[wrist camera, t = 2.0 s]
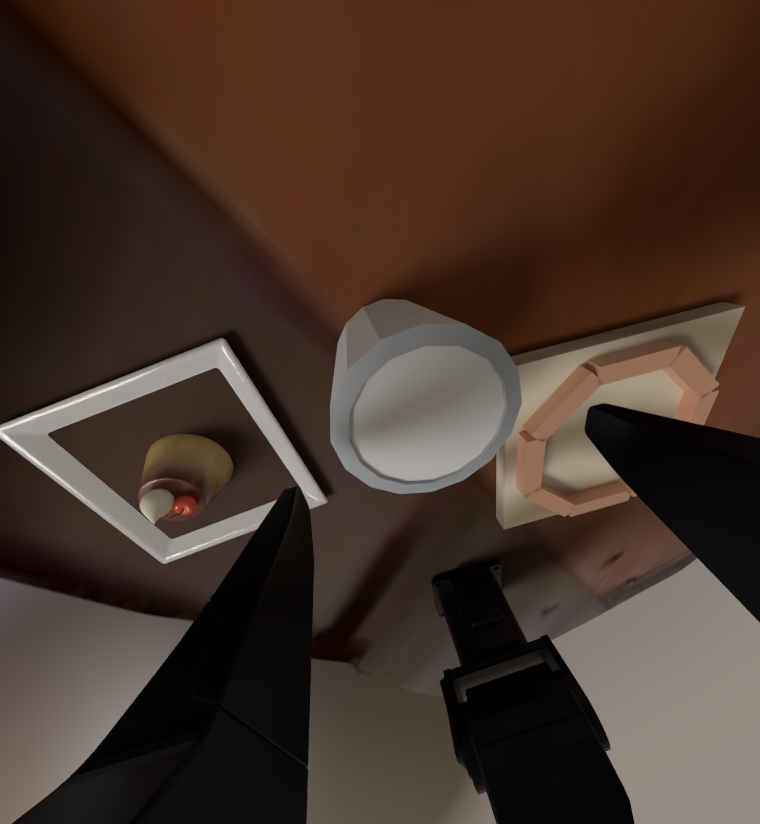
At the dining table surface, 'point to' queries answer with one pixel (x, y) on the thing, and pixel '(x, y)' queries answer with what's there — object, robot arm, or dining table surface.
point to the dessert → (161, 456)
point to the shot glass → (419, 398)
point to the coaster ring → (579, 389)
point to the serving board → (601, 400)
